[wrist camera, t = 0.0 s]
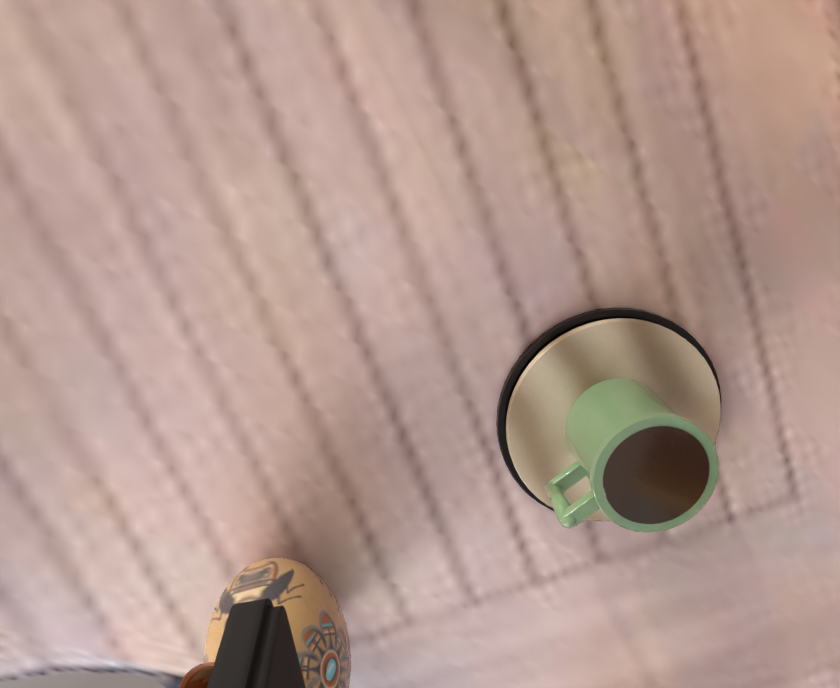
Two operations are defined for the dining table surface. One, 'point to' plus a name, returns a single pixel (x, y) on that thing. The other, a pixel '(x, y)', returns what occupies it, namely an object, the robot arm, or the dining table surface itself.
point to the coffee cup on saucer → (617, 426)
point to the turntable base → (554, 334)
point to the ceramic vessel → (308, 617)
